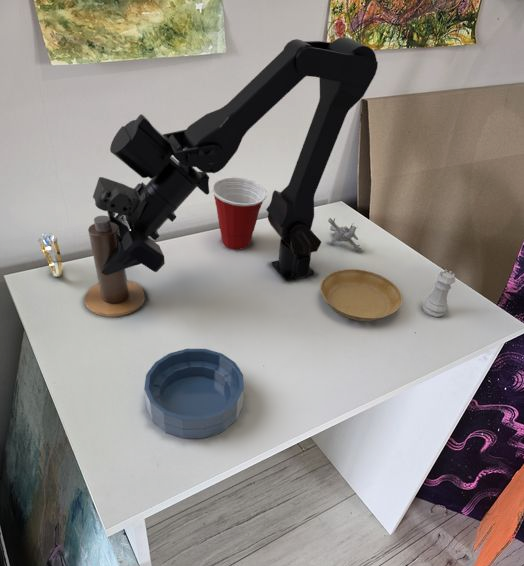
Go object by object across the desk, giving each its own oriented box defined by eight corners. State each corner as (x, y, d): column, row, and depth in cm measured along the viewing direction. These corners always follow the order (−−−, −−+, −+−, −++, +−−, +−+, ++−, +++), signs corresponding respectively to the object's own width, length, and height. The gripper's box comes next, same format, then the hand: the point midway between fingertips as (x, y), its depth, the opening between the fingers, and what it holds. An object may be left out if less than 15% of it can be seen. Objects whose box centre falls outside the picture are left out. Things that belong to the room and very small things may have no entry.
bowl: (135, 385, 71) (132, 363, 68) (219, 361, 76) (220, 339, 73) (165, 454, 63) (163, 432, 60) (257, 422, 68) (260, 400, 65)
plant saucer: (380, 340, 83) (384, 328, 81) (303, 307, 88) (305, 296, 86) (409, 298, 92) (413, 287, 90) (339, 271, 97) (341, 260, 96)
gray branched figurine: (358, 235, 109) (374, 242, 101) (340, 255, 110) (354, 264, 102) (328, 204, 105) (342, 208, 97) (309, 225, 106) (322, 232, 98)
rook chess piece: (446, 319, 88) (462, 283, 83) (421, 315, 89) (435, 278, 83) (444, 305, 91) (459, 269, 86) (420, 301, 92) (433, 264, 87)
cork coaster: (79, 289, 87) (79, 286, 87) (135, 277, 91) (135, 275, 90) (92, 322, 81) (92, 319, 80) (152, 308, 84) (151, 306, 84)
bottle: (110, 285, 87) (96, 209, 77) (133, 291, 86) (122, 215, 77) (96, 300, 84) (80, 222, 74) (120, 306, 83) (107, 228, 73)
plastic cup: (244, 263, 97) (247, 206, 89) (200, 245, 101) (199, 189, 93) (272, 241, 104) (277, 187, 96) (230, 225, 108) (232, 171, 100)
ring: (70, 282, 88) (61, 243, 83) (51, 286, 87) (41, 247, 81) (59, 263, 92) (50, 224, 87) (41, 267, 91) (31, 228, 86)
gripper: (111, 138, 77) (51, 211, 81) (135, 188, 65) (63, 272, 69) (164, 182, 85) (107, 246, 89) (194, 234, 72) (126, 307, 76)
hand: (101, 265), depth 80 cm, fingers closed on bottle, 5 cm apart
